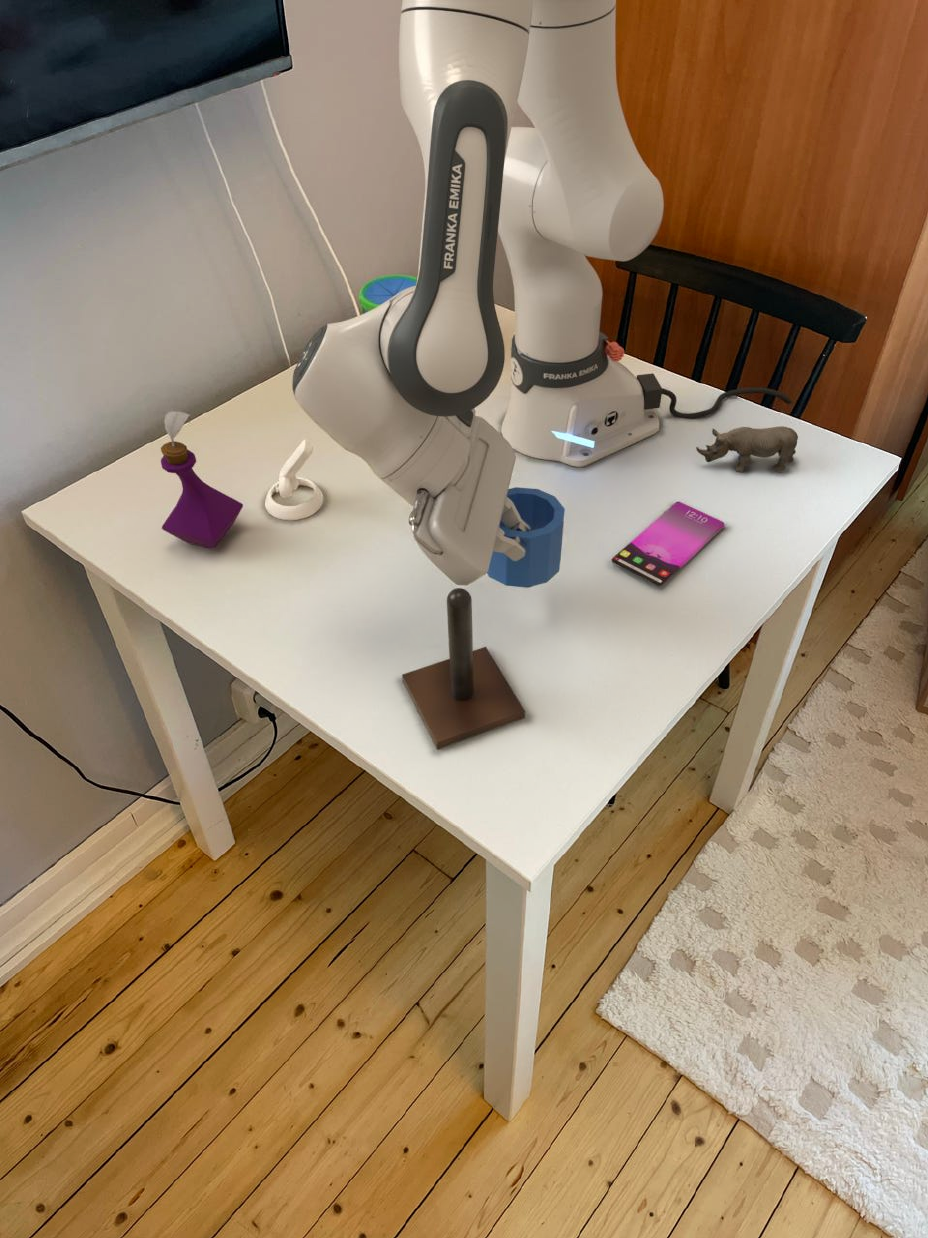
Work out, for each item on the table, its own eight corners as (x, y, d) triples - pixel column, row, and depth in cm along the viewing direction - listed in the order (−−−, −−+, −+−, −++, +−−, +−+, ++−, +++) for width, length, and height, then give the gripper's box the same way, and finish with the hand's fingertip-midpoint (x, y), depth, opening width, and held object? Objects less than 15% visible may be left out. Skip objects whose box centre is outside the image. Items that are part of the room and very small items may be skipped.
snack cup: (345, 339, 155) (338, 279, 148) (401, 320, 159) (396, 261, 152) (396, 382, 146) (391, 320, 139) (453, 360, 150) (451, 299, 143)
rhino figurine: (690, 455, 132) (696, 418, 128) (790, 455, 132) (801, 418, 127) (694, 474, 129) (701, 437, 125) (797, 473, 129) (808, 436, 124)
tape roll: (487, 533, 112) (487, 484, 107) (562, 540, 111) (566, 490, 106) (477, 583, 106) (477, 533, 101) (557, 590, 105) (561, 540, 100)
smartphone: (609, 564, 117) (610, 558, 116) (676, 503, 125) (677, 498, 124) (660, 590, 114) (660, 585, 113) (725, 526, 121) (726, 521, 121)
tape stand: (485, 653, 107) (485, 545, 96) (524, 717, 101) (529, 610, 89) (402, 681, 105) (391, 573, 93) (437, 749, 98) (429, 642, 87)
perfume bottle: (219, 561, 119) (185, 441, 106) (167, 548, 121) (128, 428, 108) (248, 523, 124) (220, 404, 111) (198, 511, 126) (164, 393, 113)
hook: (352, 488, 120) (302, 471, 116) (308, 539, 128) (259, 525, 124) (350, 443, 124) (301, 425, 120) (307, 496, 132) (260, 480, 128)
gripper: (427, 514, 87) (531, 601, 93) (468, 389, 101) (556, 472, 107) (383, 545, 91) (486, 627, 97) (429, 421, 105) (516, 499, 110)
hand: (523, 545), depth 102 cm, fingers closed on tape roll
